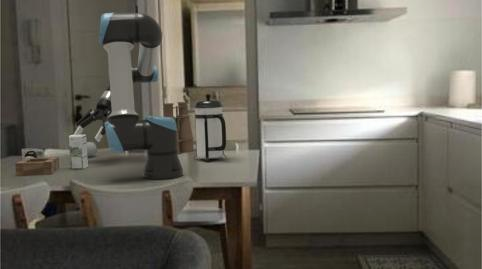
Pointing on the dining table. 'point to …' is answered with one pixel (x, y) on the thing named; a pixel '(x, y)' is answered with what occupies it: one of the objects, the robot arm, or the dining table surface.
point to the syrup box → (78, 151)
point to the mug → (31, 153)
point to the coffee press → (209, 129)
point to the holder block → (37, 166)
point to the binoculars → (181, 126)
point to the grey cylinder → (91, 149)
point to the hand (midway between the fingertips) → (85, 139)
